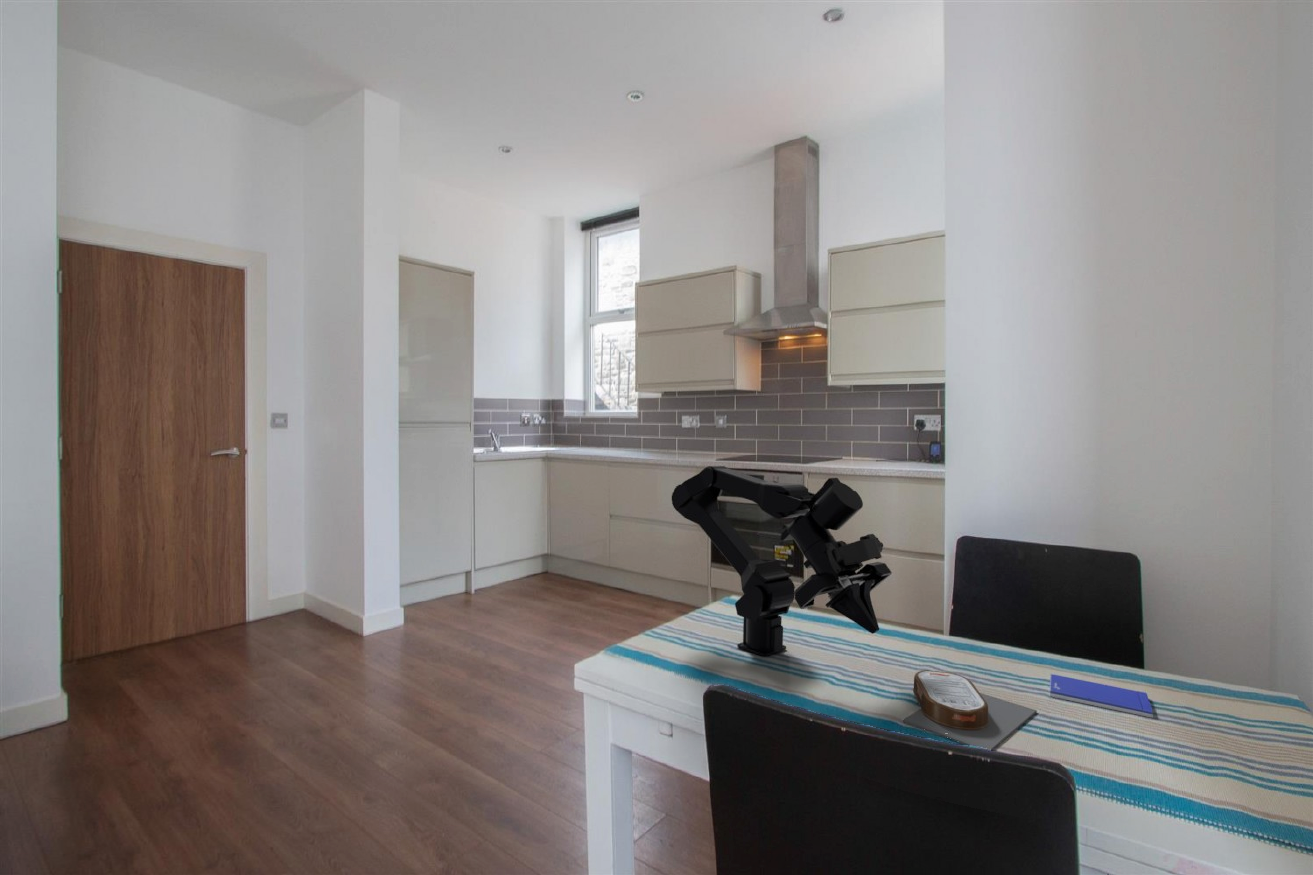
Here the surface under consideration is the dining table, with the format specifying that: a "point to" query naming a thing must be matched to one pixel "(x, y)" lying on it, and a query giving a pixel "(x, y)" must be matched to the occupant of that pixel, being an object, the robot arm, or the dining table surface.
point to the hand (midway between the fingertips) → (876, 631)
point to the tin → (950, 700)
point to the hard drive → (1100, 695)
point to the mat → (1000, 726)
